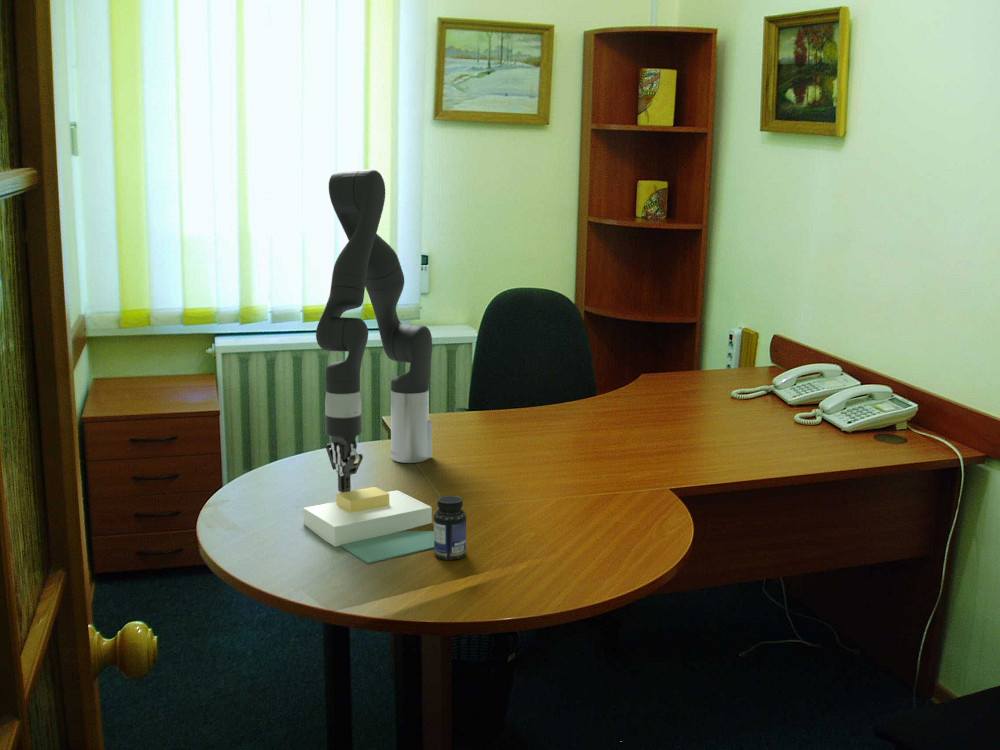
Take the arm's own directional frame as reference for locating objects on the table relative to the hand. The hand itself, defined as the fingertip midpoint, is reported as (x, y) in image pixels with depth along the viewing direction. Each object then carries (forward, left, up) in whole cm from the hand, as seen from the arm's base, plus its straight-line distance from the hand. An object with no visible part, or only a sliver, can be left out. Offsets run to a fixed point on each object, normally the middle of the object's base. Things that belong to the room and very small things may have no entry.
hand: (344, 491), depth 203 cm
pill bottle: (-5, +33, -5) cm, 34 cm away
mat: (0, +23, -5) cm, 23 cm away
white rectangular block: (0, +10, -5) cm, 11 cm away
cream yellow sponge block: (0, +8, -1) cm, 8 cm away
